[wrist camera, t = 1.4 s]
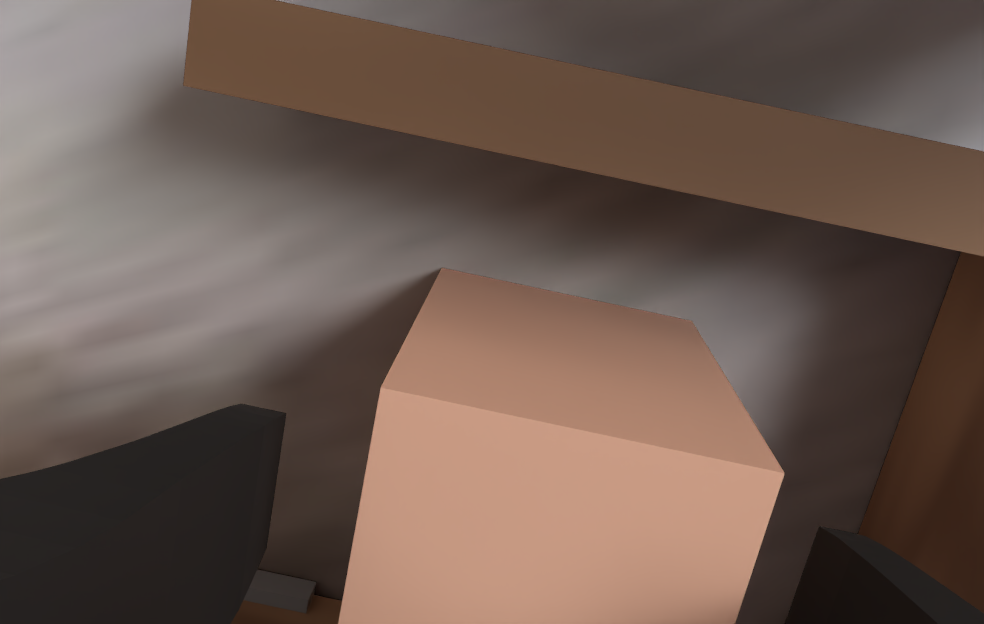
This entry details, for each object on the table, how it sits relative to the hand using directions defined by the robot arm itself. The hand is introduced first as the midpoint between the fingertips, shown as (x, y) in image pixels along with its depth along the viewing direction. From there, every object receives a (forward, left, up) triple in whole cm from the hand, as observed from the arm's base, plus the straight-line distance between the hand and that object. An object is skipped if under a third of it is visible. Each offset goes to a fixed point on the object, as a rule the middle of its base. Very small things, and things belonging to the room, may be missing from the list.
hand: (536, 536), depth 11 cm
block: (0, 0, -5) cm, 5 cm away
